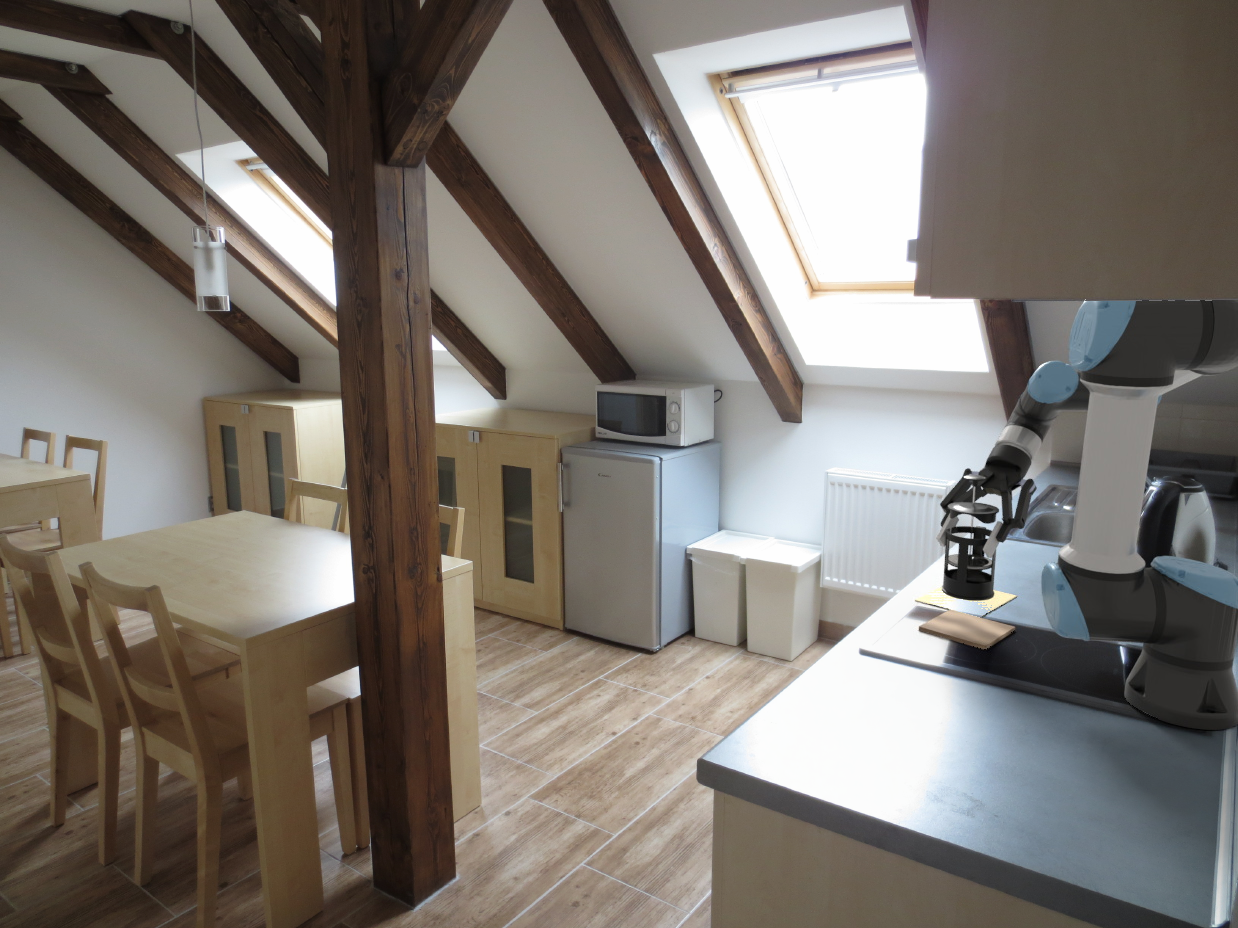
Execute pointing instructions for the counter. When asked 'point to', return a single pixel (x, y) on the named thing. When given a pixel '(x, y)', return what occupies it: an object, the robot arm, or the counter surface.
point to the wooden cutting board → (967, 629)
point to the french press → (969, 572)
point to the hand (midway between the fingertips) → (963, 547)
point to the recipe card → (996, 601)
